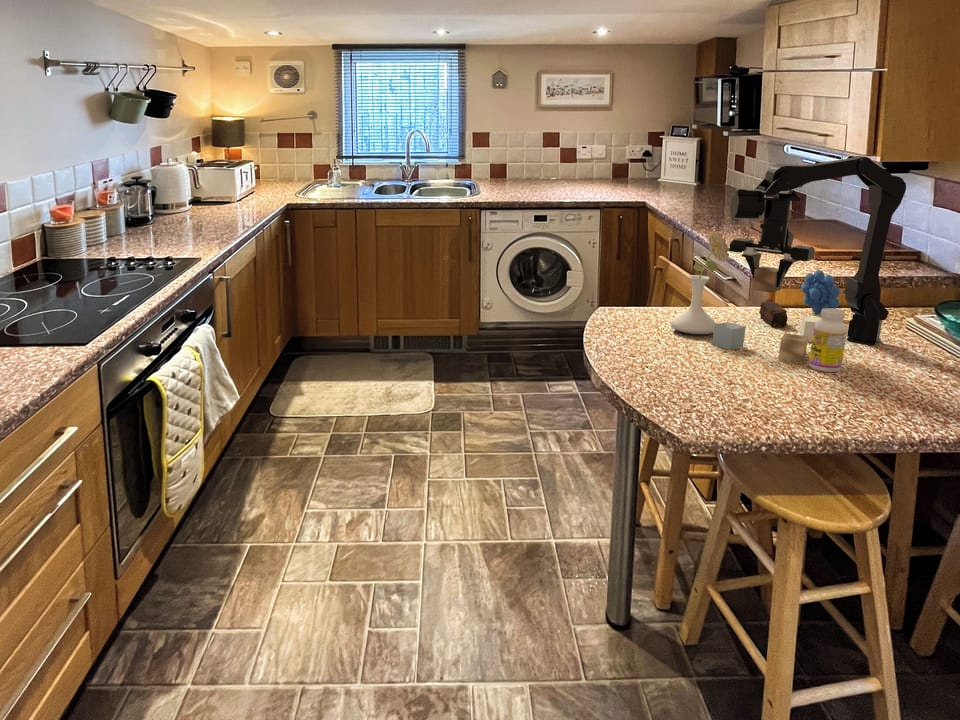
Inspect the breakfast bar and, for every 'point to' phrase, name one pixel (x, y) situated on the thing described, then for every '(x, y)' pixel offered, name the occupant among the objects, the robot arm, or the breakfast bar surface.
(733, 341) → the slate blue cube
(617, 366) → the breakfast bar surface
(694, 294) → the flower in vase
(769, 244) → the robot arm
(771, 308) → the brick
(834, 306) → the grapes
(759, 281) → the walnut cube
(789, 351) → the oak cube
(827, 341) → the supplement bottle
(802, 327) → the cream cube
